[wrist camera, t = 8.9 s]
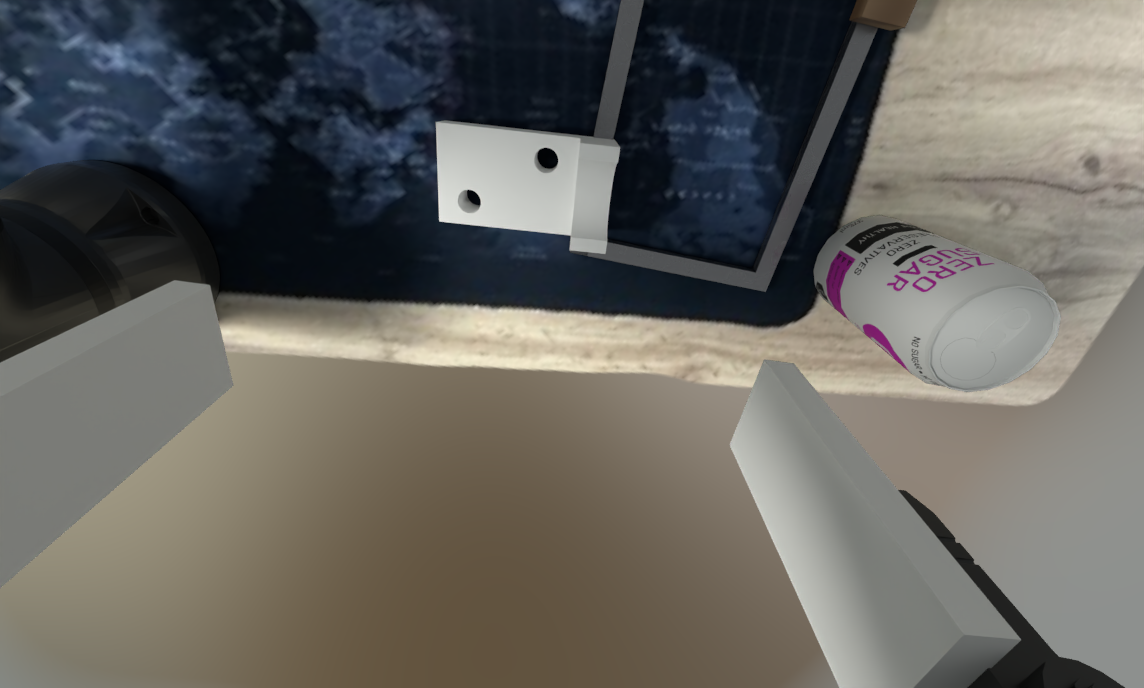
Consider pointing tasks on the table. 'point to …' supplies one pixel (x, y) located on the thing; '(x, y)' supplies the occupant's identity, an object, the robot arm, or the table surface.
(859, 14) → the carriage
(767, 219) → the table surface
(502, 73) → the table surface
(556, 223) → the bracket
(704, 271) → the rails
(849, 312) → the supplement can
